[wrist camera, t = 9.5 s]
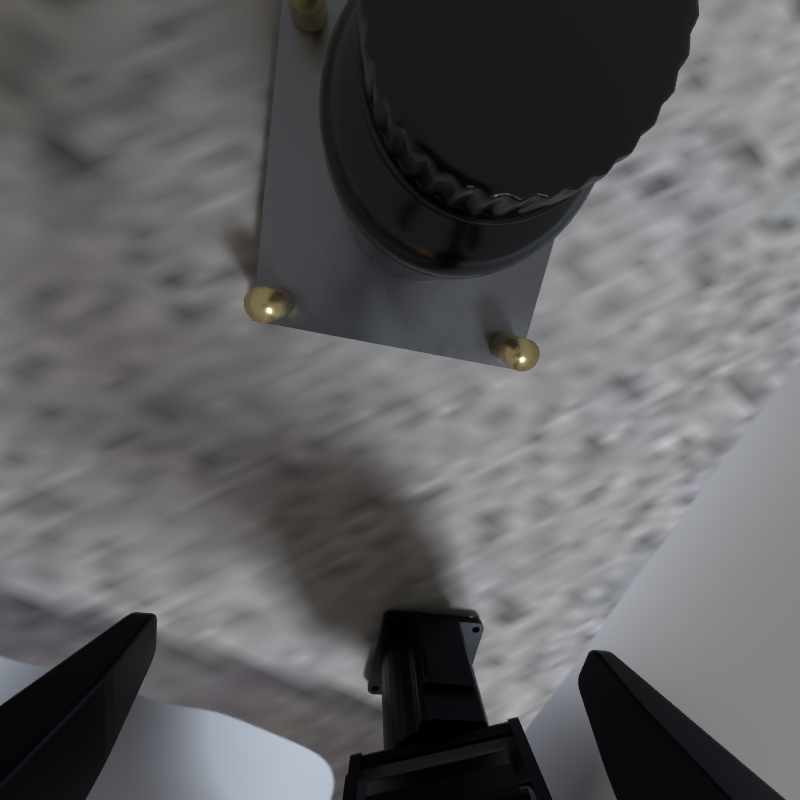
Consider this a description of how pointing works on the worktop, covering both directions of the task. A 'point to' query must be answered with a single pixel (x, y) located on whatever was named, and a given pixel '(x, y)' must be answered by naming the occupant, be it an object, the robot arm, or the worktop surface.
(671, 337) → the worktop surface
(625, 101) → the supplement bottle
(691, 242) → the worktop surface
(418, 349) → the chassis plate
